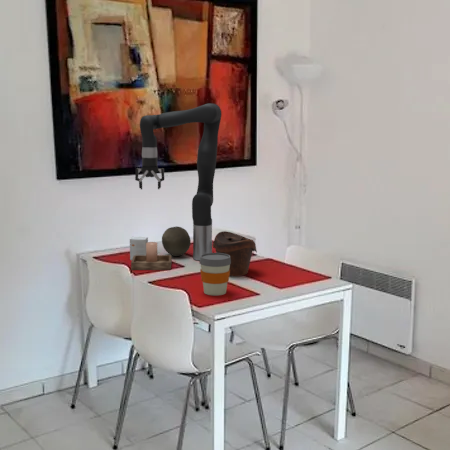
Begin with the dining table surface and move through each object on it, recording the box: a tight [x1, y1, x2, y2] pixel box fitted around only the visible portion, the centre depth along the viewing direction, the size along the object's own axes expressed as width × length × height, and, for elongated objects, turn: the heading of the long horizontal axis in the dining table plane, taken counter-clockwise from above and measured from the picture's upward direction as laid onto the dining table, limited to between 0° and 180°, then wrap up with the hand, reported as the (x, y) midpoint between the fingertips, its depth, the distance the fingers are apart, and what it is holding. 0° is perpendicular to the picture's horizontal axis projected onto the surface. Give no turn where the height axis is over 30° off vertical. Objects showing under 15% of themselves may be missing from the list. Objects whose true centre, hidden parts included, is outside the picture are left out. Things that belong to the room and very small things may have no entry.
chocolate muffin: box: [212, 230, 258, 277], centre depth 281 cm, size 18×20×18 cm
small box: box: [129, 236, 149, 261], centre depth 305 cm, size 8×6×10 cm
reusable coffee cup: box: [199, 252, 231, 296], centre depth 252 cm, size 13×13×15 cm
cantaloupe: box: [161, 226, 192, 257], centre depth 311 cm, size 14×14×15 cm
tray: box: [130, 254, 173, 271], centre depth 292 cm, size 18×14×4 cm
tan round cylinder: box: [146, 241, 158, 262], centre depth 292 cm, size 5×5×10 cm
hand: (150, 189), depth 310 cm, fingers open, 8 cm apart
